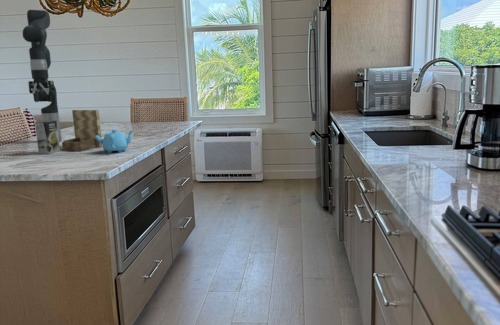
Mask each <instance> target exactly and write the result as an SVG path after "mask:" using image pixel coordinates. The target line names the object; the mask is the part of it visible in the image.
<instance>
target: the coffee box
mask: <svg viewBox="0 0 500 325" xmlns="http://www.w3.org/2000/svg"><path fill="white" fill-rule="evenodd" d="M34 124H35V125H34V126H35V133H36V140H37V141H36V142H37V149H38V154H39V155H50V154H54V153H58V152H60V151H61V147H60V146H61V145H60V141H59V138H58V129H57V121H43V122H42V121H37V122H34Z"/></svg>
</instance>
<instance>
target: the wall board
mask: <svg viewBox="0 0 500 325" xmlns="http://www.w3.org/2000/svg"><path fill="white" fill-rule="evenodd" d="M71 112H72V120H73V129H74V130H73V131H74V138H80V141H84V140H89V139H93V138H95V137H96V136H97V135H98V136H99V137H100V138H101V139H102V131H101V121H100V113H99V109H72V110H71ZM96 145H97V147H96V148H103V145H102V144H101V143H100V142H99V141H97V140H96Z"/></svg>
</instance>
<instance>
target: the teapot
mask: <svg viewBox="0 0 500 325" xmlns="http://www.w3.org/2000/svg"><path fill="white" fill-rule="evenodd" d="M134 131H135V130H134V129H131V130H129V132H128V137H127V135H126V134H125V132H124V131H117V129H111V131H109V132H106V133H105V134H104V136H103V139H102V137H101V138H100V137H99V136H98V135H97V136H96V137H95V139H96V140H97V141H99V142H100V143H101V144H102V149H104V151H106V152H107V154H112V153H113V152H114V151H117V152H118V153H119V154H122V153H124V151H125V150H126V149H127V148H128V147H129V144H130V143H131V141H132V135H133V134H132V133H133V132H134Z"/></svg>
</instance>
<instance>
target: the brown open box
mask: <svg viewBox="0 0 500 325" xmlns="http://www.w3.org/2000/svg"><path fill="white" fill-rule="evenodd" d="M61 143H62V144H61V145H62V151H67V152H69V151H70V152H83V151H88V150H92V149H95V148H98V147H97V145H96V139H95V138H93V139H89V140H84V141H80V138H75V137H74V138H70V139H66V140H62V141H61Z"/></svg>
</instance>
